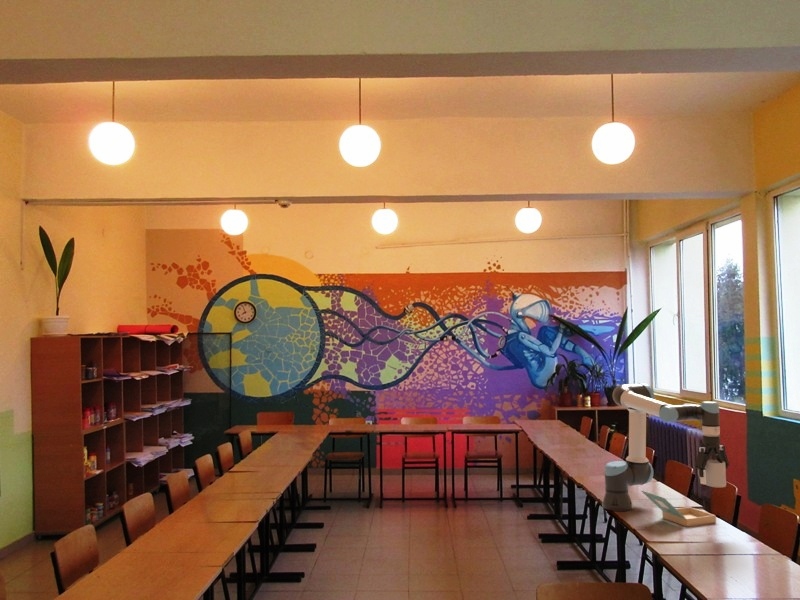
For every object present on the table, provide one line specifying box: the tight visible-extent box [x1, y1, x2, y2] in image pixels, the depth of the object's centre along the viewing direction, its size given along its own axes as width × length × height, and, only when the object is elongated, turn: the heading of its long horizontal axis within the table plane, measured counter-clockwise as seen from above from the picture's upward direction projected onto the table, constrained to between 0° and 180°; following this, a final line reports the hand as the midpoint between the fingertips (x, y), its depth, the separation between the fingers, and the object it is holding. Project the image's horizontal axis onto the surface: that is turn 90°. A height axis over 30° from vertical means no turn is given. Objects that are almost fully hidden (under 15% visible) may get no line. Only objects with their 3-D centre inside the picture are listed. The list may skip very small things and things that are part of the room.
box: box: [661, 506, 717, 528], centre depth 333 cm, size 17×17×4 cm
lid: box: [641, 490, 685, 519], centre depth 328 cm, size 16×16×1 cm
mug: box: [697, 459, 727, 488], centre depth 317 cm, size 12×8×11 cm
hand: (712, 482), depth 317 cm, fingers closed on mug, 10 cm apart
